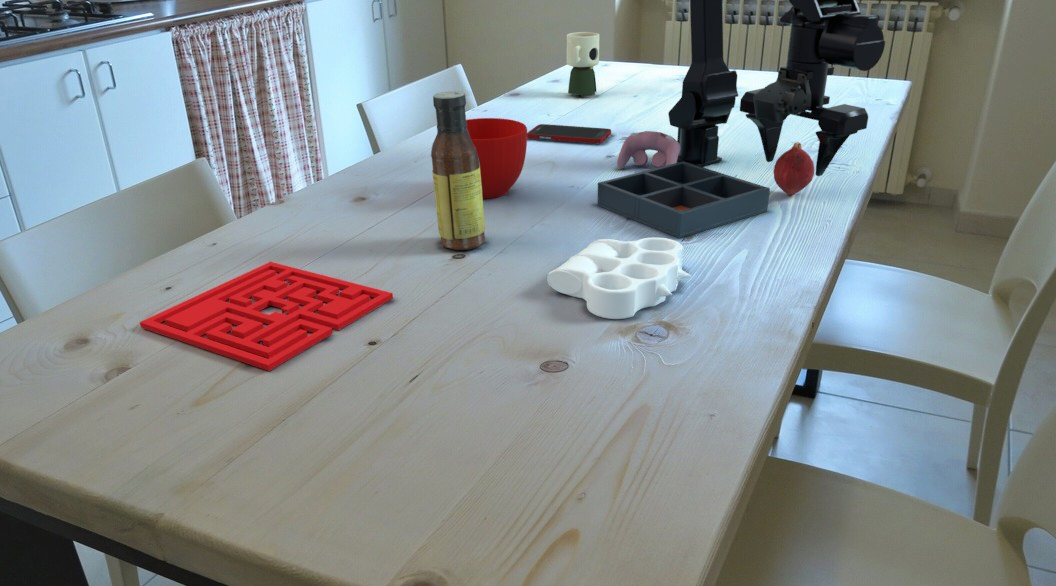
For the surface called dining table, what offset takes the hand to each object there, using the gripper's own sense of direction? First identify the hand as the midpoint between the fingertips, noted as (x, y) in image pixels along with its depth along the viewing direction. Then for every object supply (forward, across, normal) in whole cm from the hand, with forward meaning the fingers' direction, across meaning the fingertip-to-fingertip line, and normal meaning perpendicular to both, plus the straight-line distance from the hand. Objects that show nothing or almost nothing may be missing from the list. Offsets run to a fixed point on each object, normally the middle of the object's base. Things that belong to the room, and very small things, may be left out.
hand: (793, 168), depth 132 cm
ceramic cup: (+4, -30, -37) cm, 48 cm away
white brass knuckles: (+4, +10, -42) cm, 43 cm away
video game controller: (+4, -24, -7) cm, 25 cm away
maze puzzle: (+4, -9, -79) cm, 80 cm away
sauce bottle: (+4, -14, -50) cm, 52 cm away
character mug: (+4, -74, +19) cm, 76 cm away
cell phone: (+4, -48, -5) cm, 48 cm away
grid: (+4, -6, -17) cm, 18 cm away
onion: (+4, 0, 0) cm, 4 cm away
